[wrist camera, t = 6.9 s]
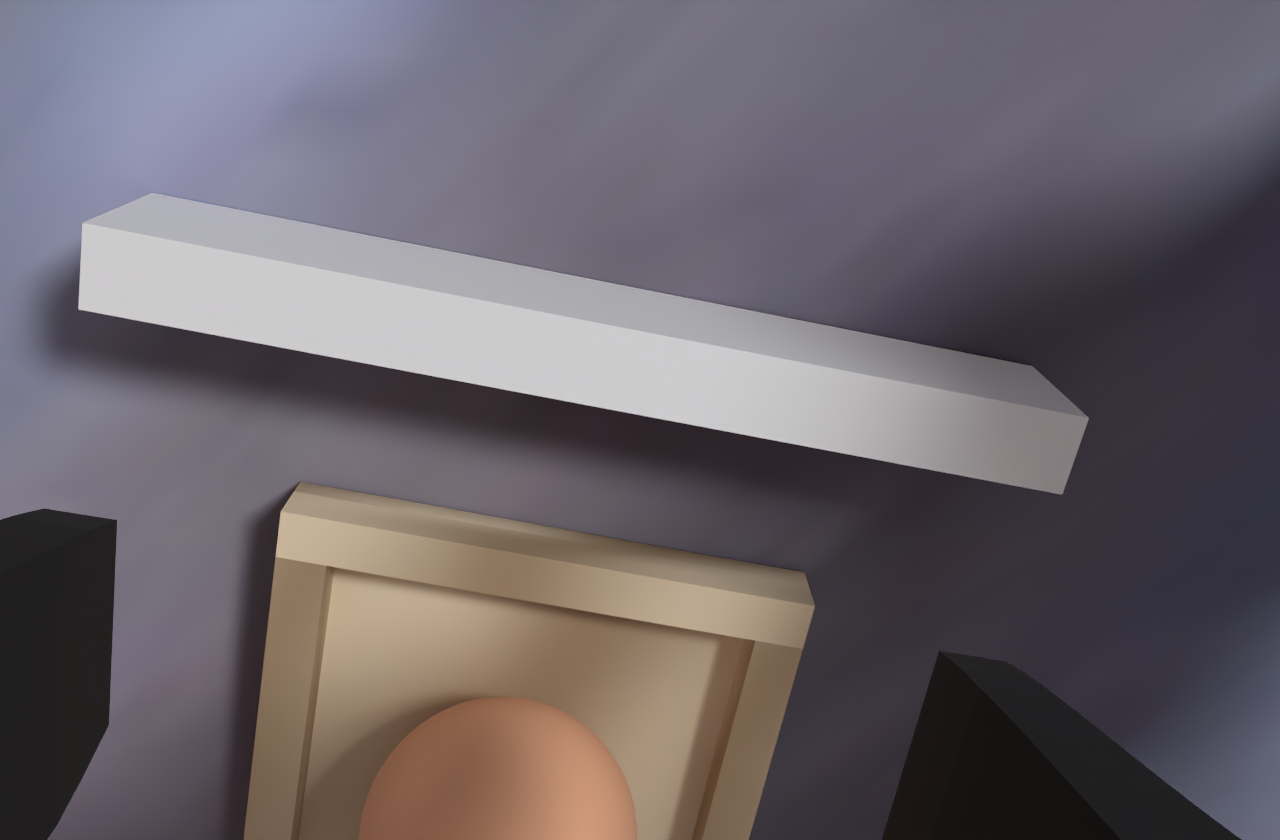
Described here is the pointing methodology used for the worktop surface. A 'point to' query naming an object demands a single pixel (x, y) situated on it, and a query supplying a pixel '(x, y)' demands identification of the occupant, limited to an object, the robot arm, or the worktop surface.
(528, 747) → the ball
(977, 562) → the worktop surface
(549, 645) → the tray
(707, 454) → the worktop surface
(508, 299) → the bar
